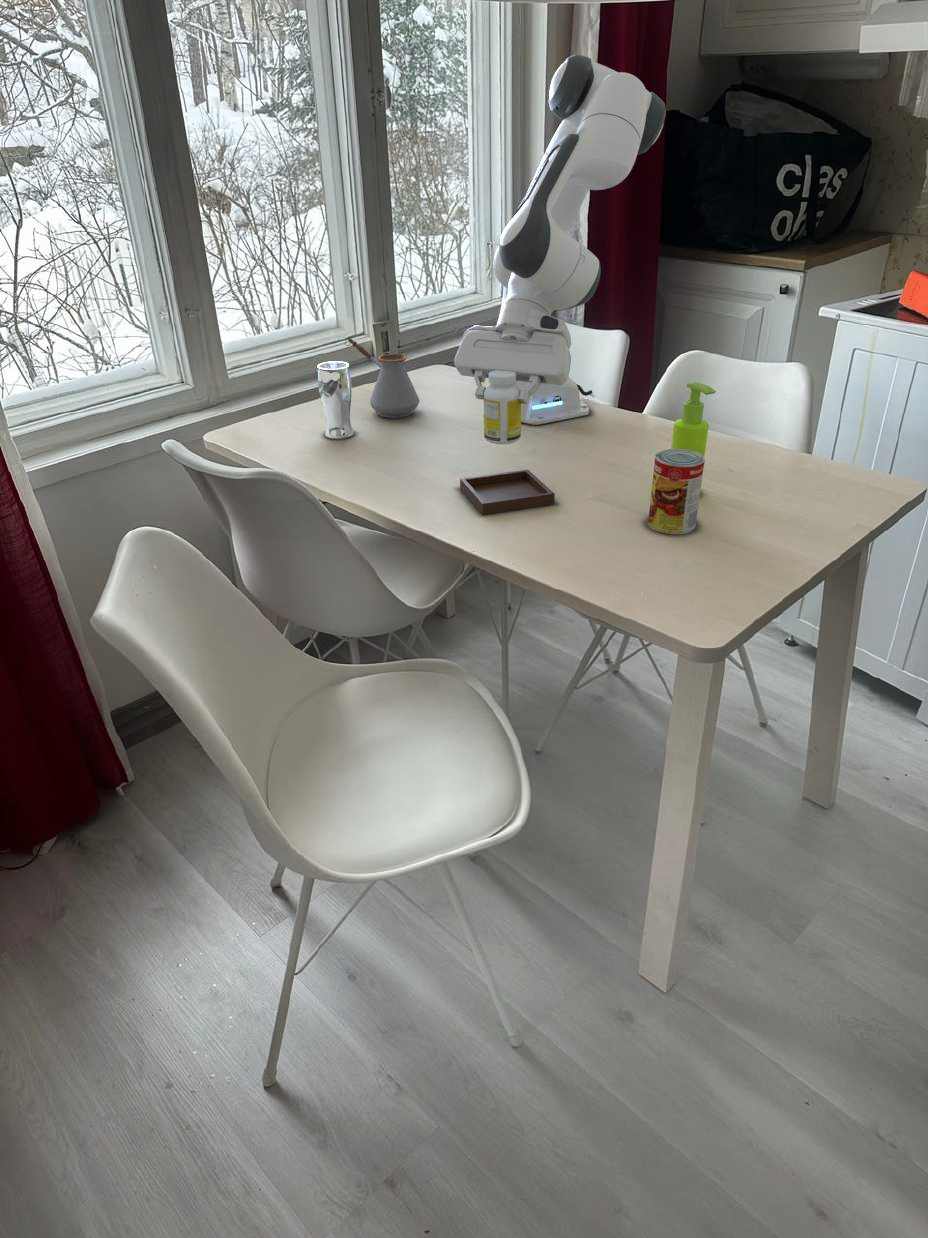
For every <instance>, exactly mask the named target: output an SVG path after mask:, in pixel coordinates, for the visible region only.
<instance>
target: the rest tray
mask: <svg viewBox="0 0 928 1238" xmlns="http://www.w3.org/2000/svg"><path fill="white" fill-rule="evenodd" d="M459 490H460V491H461V492H462V493H463V494H464V495H465V497H466V498H467V499H468V500H469V501H470V502H471V503H472V505H473V506H474V507H475V508H476V509H477V511H478V512H479V513H480V514H481V515H482V516H484V515H486V516H487V515H492V514H498V513H504V512H511V511H518V510H519V511H520V510H525V509H531V508H532V509H533V508H538V507H539V508H540V507H546V506H552V505H555V492H553V490H551V488H549V487H548V486H547V485H546V484H545V483H544V482H542V480H540V479H539V478H538V477H537V476H536V475H535V474H533V472H531V470H530V469H521V470H515V471H506V472H500V473H492V474H485V475H478V476H470V477H462V478H459Z"/></svg>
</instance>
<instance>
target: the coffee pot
mask: <svg viewBox="0 0 928 1238" xmlns="http://www.w3.org/2000/svg"><path fill="white" fill-rule="evenodd" d="M347 342H349V344H346V343H347ZM351 345H352V347H355V348H356V350H357V351H358V352H359V353H361V354H362V355H364V356H365V357H366V358H367V359H369V360H370V361H372V362H373V363H374V364H375V365H376V366H377V367H378V368H379V369H380V370H379V373H378V376H377V378H376V381H375V385H374V388H373V390H372V393H371V395H370V399H369V404H370V406H371V408H372V409H373V410H374V412H376V413H378V415H379V416H380V417H384V418H387V419H388V418H389V419H397V418H405V417H407V416H410V415H412V413H413V411H415V410H417V408H418V406H419V404H420V397H419V396H418V393H417V391H416V389H415V387H414V385H413V383H412V381H411V379H410V376H409V374H408V372H407V370H406V368H405V361H406V360H407V356H406V355H405V354H403V353H387V354H382V355H379V356H378V357H377V359H376V358H375V357H374V356H373V355H372V354H370V353H369V351H368V350H367V349H365V347H363V346H362V345H360V344H359V343H358V341H356V340H355V341H354V340H353V339H352V338H351V337H348V338H347V339H345V341H344V346H347V347H349V346H351Z"/></svg>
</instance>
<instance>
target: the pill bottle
mask: <svg viewBox="0 0 928 1238" xmlns="http://www.w3.org/2000/svg"><path fill="white" fill-rule="evenodd" d="M487 380H488V383H489V386H487V387H486V389H485V391H484V400H483V436H484V439H485V440H486V442H488V443H490V444H494V445H511V444H513V443H516V442H518V441H519V440H520V439H521V437H522V422H521V404H520V403H519V401H518V396H519V395H520V394H519V393H520V389H519V388H518V387H517V386H515V382H516V373H515V372H512V371H501V370H495V371H492V372H490V373H489V378H487Z"/></svg>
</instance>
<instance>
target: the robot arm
mask: <svg viewBox="0 0 928 1238" xmlns="http://www.w3.org/2000/svg"><path fill="white" fill-rule="evenodd" d="M548 106H549V109H550V111H551V112H552V113H553V115H555V116H556V117H557V118H558V119H559V120H561V123H560V124H559V126H558V128H557V129H556V131H555V133H554V134H553V136H552V138H551V140H550V142H549V144H548V146H547V148H546V150H545V153H544V154H543V157H542V159H541V162H540V163H539V166H538V167H537V169H536V172H535V174H534V176H533V179H532V181H531V183H530V185H529V187H528V190H527V192H526V193H525V195H524V197H523V199H522V200H521V203H520V204H519V206H518V208H517V209H516V211H515V212H514V214H513V215H512V217H511V218H510V220H509V221H508V222H507V224H506V225H505V226H504V229H503V230H502V232H501V234H500V236H499V239H498V247H497V248H496V251H495V254H494V257H493V272H494V275H495V278H496V279H497V281H498V282H499V283H500V284H501V285H502V286H503V290H502V298H501V305H500V310H499V314H498V319H497V322H496V325H495V326H491V325H489V326H487V325H486V326H484V325H483V326H482V325H478V324H477V325H473V326H472V327H470V328H467V329H465V330H464V332H463V334H462V338H461V342H460V344H459V346H458V349H457V352H456V354H455V357H454V360H453V363H454V367H455V368H456V371H457V372H458V373H459V374H460V376H462V377H470V378H471V377H472V378H474V382H475V385H476V389H475V392H474V396H475V398H476V400H483V401H484V391H485V389H486V388H487V387H486V386H485V385H483V384H484V383H485V382H486V379H489V373H490V372H492V371H495V370H501V371H512V372H515V373H516V382H515V386H517V387H518V388H519V389H520V393H519V394H520V395H519V396H518V401H519V403H520V404H521V423H525V424H528V425H535V426H537V425H543V424H548V423H554V422H559V421H563V420H568V419H573V418H578V417H584V416H587V415H589V414H590V407H589V406H588V405H587V404H586V403H585V402H584V401H583V400H581V398H580V397H581V396H580V394H581V395H582V396H584V397H585V396H586V397H587V396H589V395H592V394H593V390H588V391H585V390H584V389H583V387H582V386H581V385H579V384H577V383H576V381H574V380H573V379H571V378H570V370H571V362H572V355H571V352H570V349H571V346H572V339H571V338H572V337H571V333H570V331H569V328H568V326H567V324H566V322H565V321H564V320H563V319H560V318H559V317H555V316H553V315H552V313H553V312H554V311H558V312H560V311H566V310H570V309H573V308H578V307H580V306H583V305H585V304H586V303H588V302H589V301H590V300H591V299H592V298H593V297H594V294H595V293H596V291H597V288H598V286H599V283H600V278H601V268H602V267H601V262H600V259H599V258H598V257H597V256H596V255H595V254H594V253H593V252H592V251H591V250H589V249H588V248H587V247H586V246H584V245H583V244H582V243H581V242H579V241H578V240H576V239H575V238H574V237H573V236H571V234H569V233H568V231H569V229H570V227H571V225H572V224H573V223H574V221H575V219H576V217H577V215H578V212H579V211H580V209H581V206H582V204H583V203H584V201H585V199H586V197H587V195H588V192H589V191H590V190H591V191H602V190H607V189H611V188H614V187H615V186H617V185H619V184H620V183H622V182H623V181H624V180H625V179H626V178H627V177H628V176H629V175H630V173H631V171H632V169H633V167H634V165H635V163H636V160H637V156H639V155H642V154H644V153H646V152H648V151H649V150H650V148H651V147H652V146H653V145H654V144H655V143H656V141H658V138H659V137H660V135H661V133H662V130H663V128H664V124H665V119H666V117H667V111H666V104H665V102H664V101H663V99H661V98H660V97H659V96H658V95H657V94H656V93H654V91H649V90H648V89H646V87H645V85H644V83H643V82H642V81H641V79H639V78H638V77H637V76H636V75H633V74H631V73H628V72H623V71H621V72H618V71H616V70H614V69H612V68H610V67H608V66H606V65H603V64H601V63H598V62H595V61H593V60H592V58H590V57H588V56H585V55H581V54H573V55H570V56H569V57H567V58H566V59H565V60H564V62H562V63H561V64H560V66H558V69H557V70H556V71H555V73H554V75H553V77H552V79H551V82H550V85H549V94H548ZM482 383H483V384H482Z"/></svg>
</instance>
